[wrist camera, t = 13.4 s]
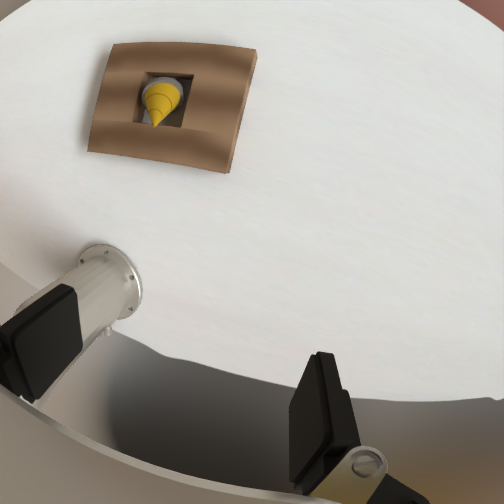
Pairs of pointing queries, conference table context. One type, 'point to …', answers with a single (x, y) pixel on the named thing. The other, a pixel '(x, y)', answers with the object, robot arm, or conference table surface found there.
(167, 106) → the drill bit
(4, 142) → the conference table surface
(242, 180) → the conference table surface
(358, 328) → the conference table surface
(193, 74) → the holder block
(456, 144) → the conference table surface
